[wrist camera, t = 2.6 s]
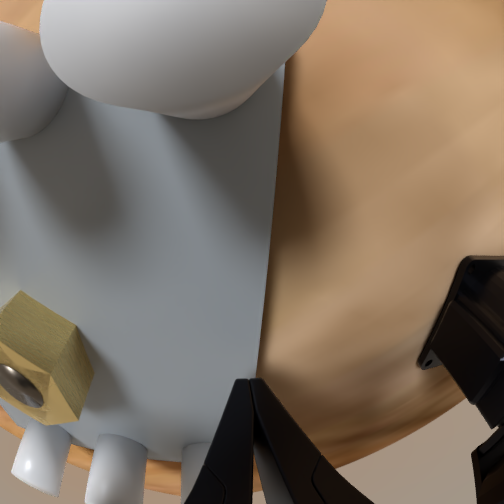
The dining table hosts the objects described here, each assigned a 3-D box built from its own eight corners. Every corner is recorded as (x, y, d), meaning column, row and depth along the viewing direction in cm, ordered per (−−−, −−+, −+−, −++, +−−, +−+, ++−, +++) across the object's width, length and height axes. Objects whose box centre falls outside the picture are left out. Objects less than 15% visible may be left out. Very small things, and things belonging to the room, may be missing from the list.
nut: (66, 294, 8) (33, 343, 5) (103, 392, 10) (90, 438, 8) (-14, 285, 7) (-48, 321, 5) (27, 375, 9) (9, 413, 7)
